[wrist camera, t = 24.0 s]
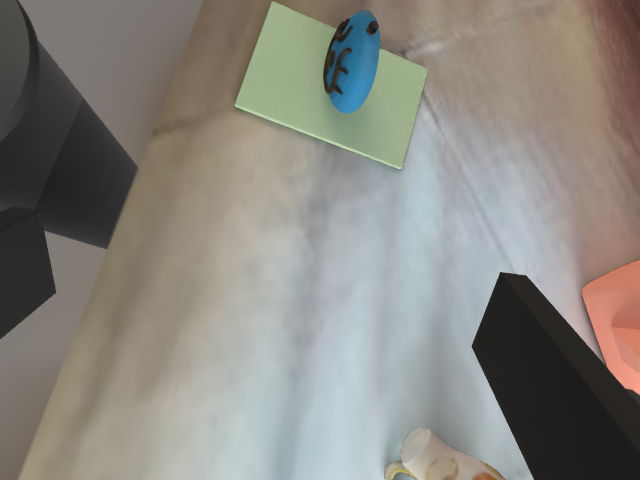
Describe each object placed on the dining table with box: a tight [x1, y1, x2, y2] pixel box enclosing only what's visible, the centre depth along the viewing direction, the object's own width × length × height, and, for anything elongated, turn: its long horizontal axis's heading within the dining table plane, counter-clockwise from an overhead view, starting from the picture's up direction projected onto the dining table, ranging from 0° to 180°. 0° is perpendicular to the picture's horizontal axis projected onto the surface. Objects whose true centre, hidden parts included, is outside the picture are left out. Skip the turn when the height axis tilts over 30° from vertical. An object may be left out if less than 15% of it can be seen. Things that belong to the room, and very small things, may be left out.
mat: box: [235, 1, 428, 170], centre depth 40 cm, size 18×12×1 cm, turn 73°
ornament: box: [323, 11, 380, 114], centre depth 35 cm, size 8×5×10 cm, turn 177°
